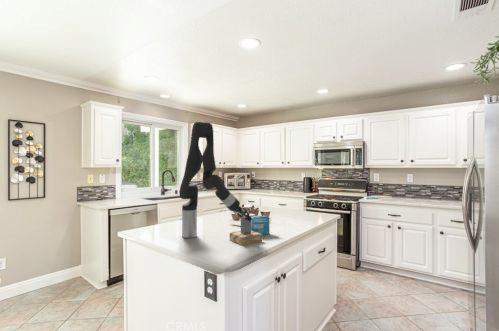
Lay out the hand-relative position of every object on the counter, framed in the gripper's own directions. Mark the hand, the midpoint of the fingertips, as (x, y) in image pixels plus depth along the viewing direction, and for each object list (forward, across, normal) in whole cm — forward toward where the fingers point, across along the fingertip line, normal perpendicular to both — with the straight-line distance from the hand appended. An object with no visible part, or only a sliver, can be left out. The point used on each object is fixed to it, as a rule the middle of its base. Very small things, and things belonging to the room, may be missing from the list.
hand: (246, 218), depth 161 cm
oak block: (+9, 0, +10) cm, 14 cm away
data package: (+20, +8, -1) cm, 22 cm away
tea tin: (+6, 0, +7) cm, 9 cm away
